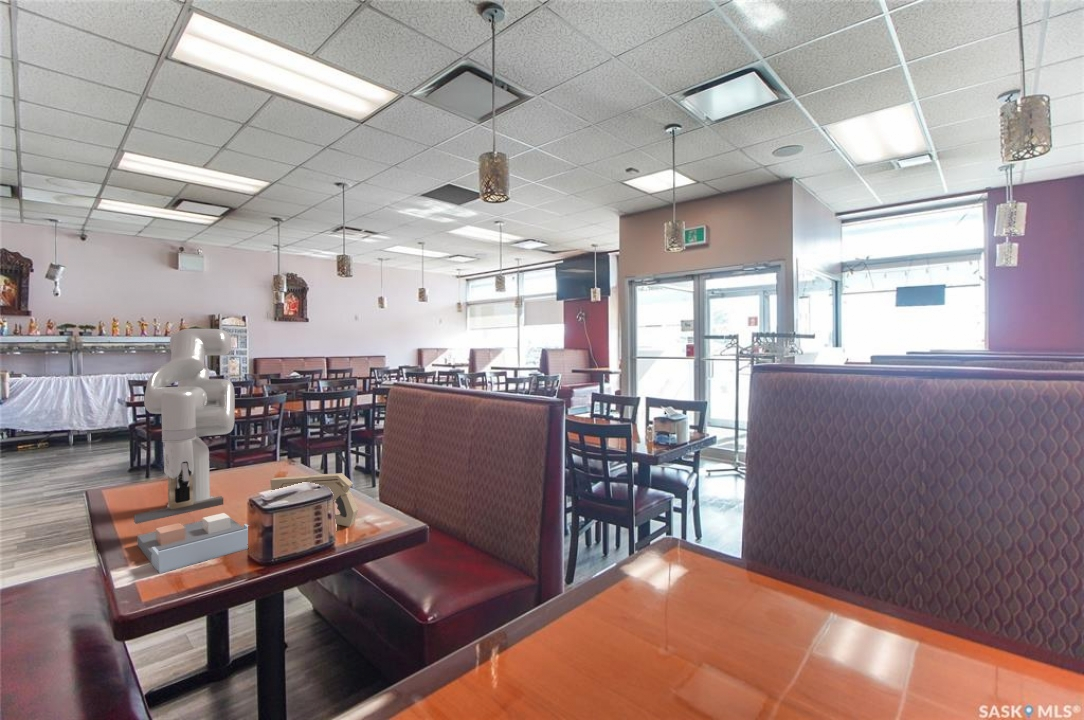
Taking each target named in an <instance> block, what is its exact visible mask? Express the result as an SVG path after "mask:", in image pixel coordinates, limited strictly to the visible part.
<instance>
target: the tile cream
mask: <svg viewBox="0 0 1084 720" xmlns="http://www.w3.org/2000/svg"><path fill="white" fill-rule="evenodd" d="M230 518H231V517H230V515H228V514H227V513H225V512H222V513H217V514H212V515H209V516H204V517H202V521H203V529H204V530H205V531H206V532H207V533H208V534H209V533H213V532H217V531H221V530H225V529H229V528H230Z"/></svg>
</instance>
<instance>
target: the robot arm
mask: <svg viewBox="0 0 1084 720" xmlns="http://www.w3.org/2000/svg"><path fill="white" fill-rule="evenodd" d="M169 346H170V347H169V348H170V352H171V356H170V361H168V362H166V363H165V364H163V365H162V366H161V367H158V369H156V370H154V372H153V373H152V374H151V375H150V376H149V378H148V380H147V383H146V388H145V392H144V398H143V399H144V400H143V401H144V402H143V404H144V407H145V410H146V411H147V412H148V413H150V414H155V415H158V414H159V415H160V414H161V442H162V443H164V455H163V456H164V457H163V459H164V460H163V472H164V474H165V475H166V476H167V477H168V476H169V477H170V478H172V479H175V477H176V488H175V502H176V503H180V502H185V501H189V500H190V486H189V476H191V475H193V502H196V501H201V500H205V499H210V498H215V497H216V496H214V495H211V494H210V493H211V492H210V450H209V447H208V445H207V443H205V442H204V441H203V439H201V437H206V436H208V437H209V436H218V435H219V436H220V435H227V434H230V433H231V432H232V431H233V430H234V427H235V416H236V415H235V413H236V411H235V407H236V406H235V405H236V404H235V402H236V401H235V398H236V396H235V388H234V385H233V382H231V381H230V380H228V379H224V378H214V379H213V378H211V379H210V370H209V369H210V368H208V366H206V364H205V357H206V356H227V355H228V354H229V353H230V352H231V350H232V349H231V348H232V339H231V335H230V334H229V332H227V330H224V329H218V328H185V329H181V330H179V331H177V332H174V333H173V334H172V335H171V336H170V338H169ZM174 383H177V386H169V385H172V384H174ZM181 474H182V476H180V477H179V475H181ZM179 479H182V480H180V482H179ZM167 507H169V506H168V504H167V505H166V508H167Z"/></svg>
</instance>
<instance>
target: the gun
mask: <svg viewBox="0 0 1084 720" xmlns="http://www.w3.org/2000/svg"><path fill="white" fill-rule="evenodd" d="M302 482H310V483H315V484H319V485H324V486H327V487H329V488H330V489H331V491H332V492H333V494H334V500H333V501H335V502H334V503H335V504H337V506H336V507H337V508H336V509H337V510H338V511H339V512H337V513H334V514H335V519H336V524H335V525H340V526H344V527H347V528H349V527H352V526H353V525H354V524H355V522H356V518H357V515H358V511H359V509H358V506H357V504H356V500H355V499H354V496H353V493H352V492H351V491H350V489H351V488H352V486H353V485H354V483H353V482H352V481H351V479H350V478H348V477H347V476H346V475H345V474H344V473H343V472H340V473H323V474H314V475H301V476H299V475H298V476H285V477H284V476H283V477H282V476H281V477H275V478H272V479H270V489H271V490H275V489H279V488H283V487H287V486H291V485H294V484H298V483H302Z"/></svg>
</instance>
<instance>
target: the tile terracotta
mask: <svg viewBox="0 0 1084 720" xmlns="http://www.w3.org/2000/svg"><path fill="white" fill-rule="evenodd" d="M183 525H184V524H182V523H180V522H179V523H172V524H169V525H165V526H160V527H156V528H155V531H156V541H157V542H158V543H159V544H160V545H165V544H169V543H173V542H177V541H181V540H185V527H184V526H183Z"/></svg>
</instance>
